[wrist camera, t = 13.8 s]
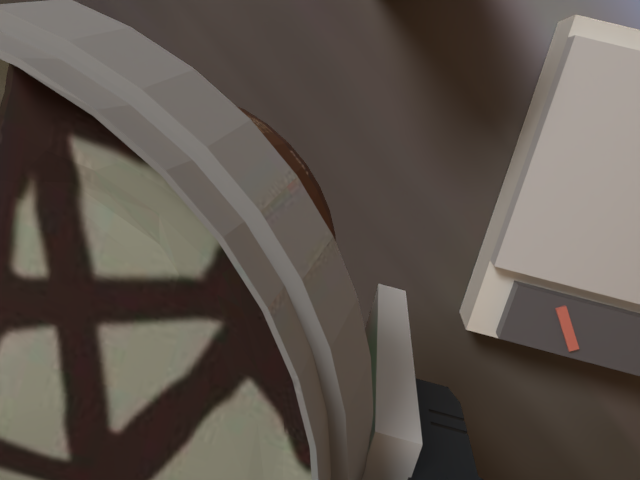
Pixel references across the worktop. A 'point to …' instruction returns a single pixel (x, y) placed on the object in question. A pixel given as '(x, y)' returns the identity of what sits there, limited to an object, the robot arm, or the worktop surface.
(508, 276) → the scale
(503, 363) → the worktop surface
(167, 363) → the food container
